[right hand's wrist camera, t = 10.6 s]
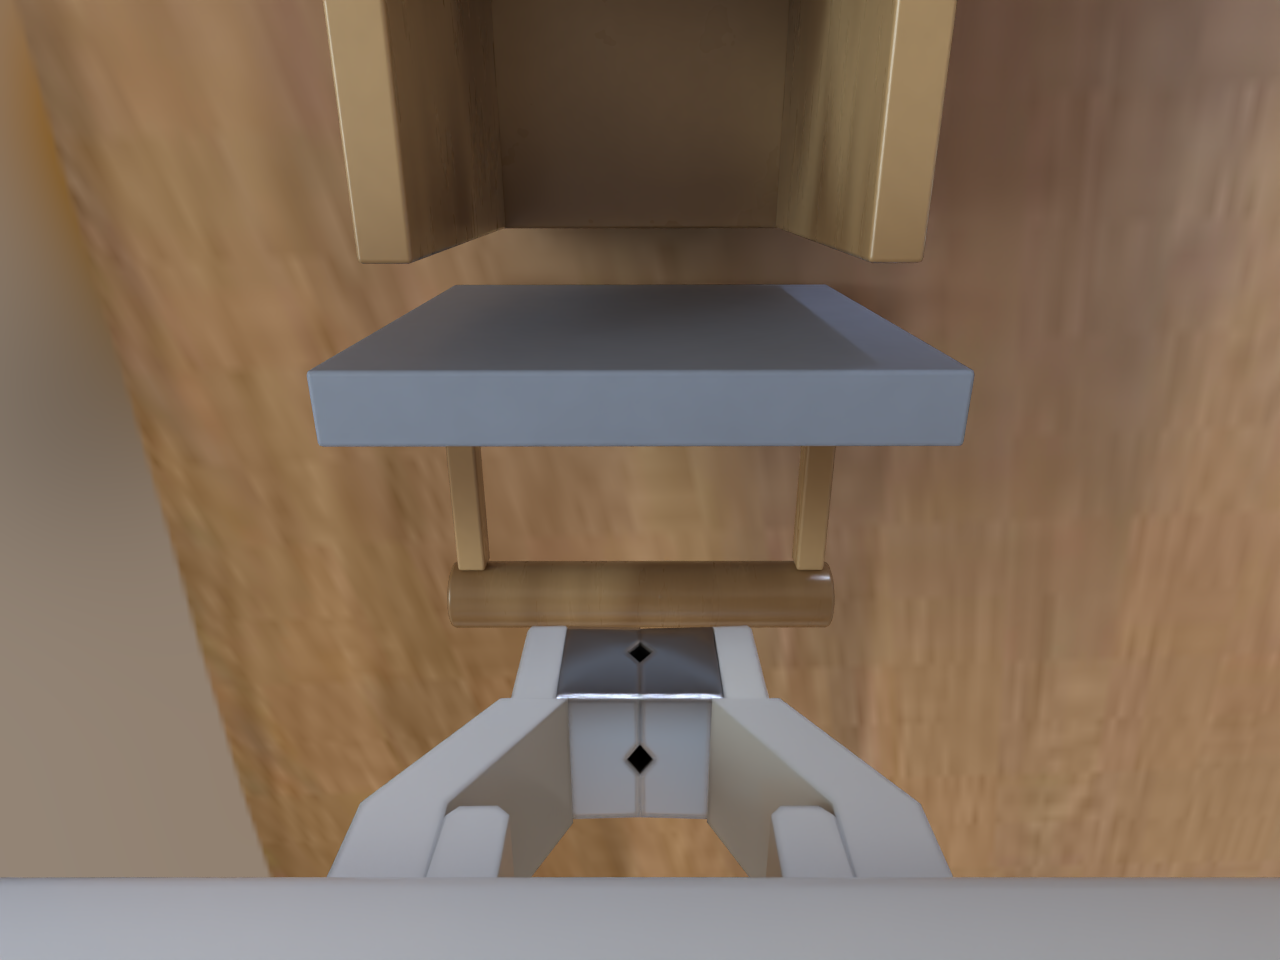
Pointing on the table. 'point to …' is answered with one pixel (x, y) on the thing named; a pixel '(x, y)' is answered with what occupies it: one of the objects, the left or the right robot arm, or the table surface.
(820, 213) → the drawer
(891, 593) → the table surface
